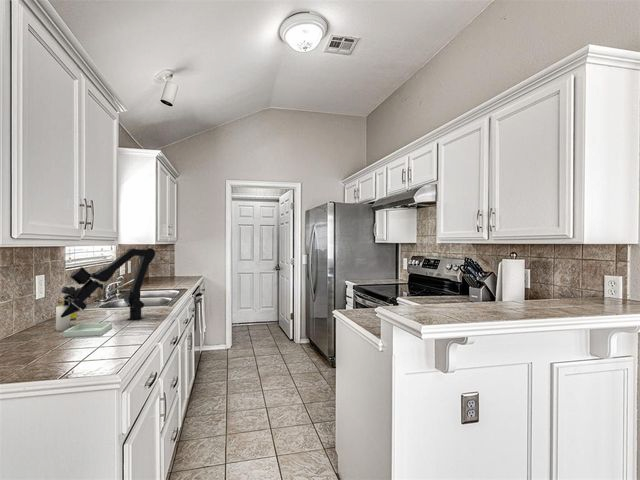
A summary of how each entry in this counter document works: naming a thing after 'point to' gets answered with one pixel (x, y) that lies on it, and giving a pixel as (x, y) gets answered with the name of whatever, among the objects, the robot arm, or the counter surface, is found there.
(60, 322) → the canister
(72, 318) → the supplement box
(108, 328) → the tray
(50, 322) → the counter surface
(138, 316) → the robot arm
